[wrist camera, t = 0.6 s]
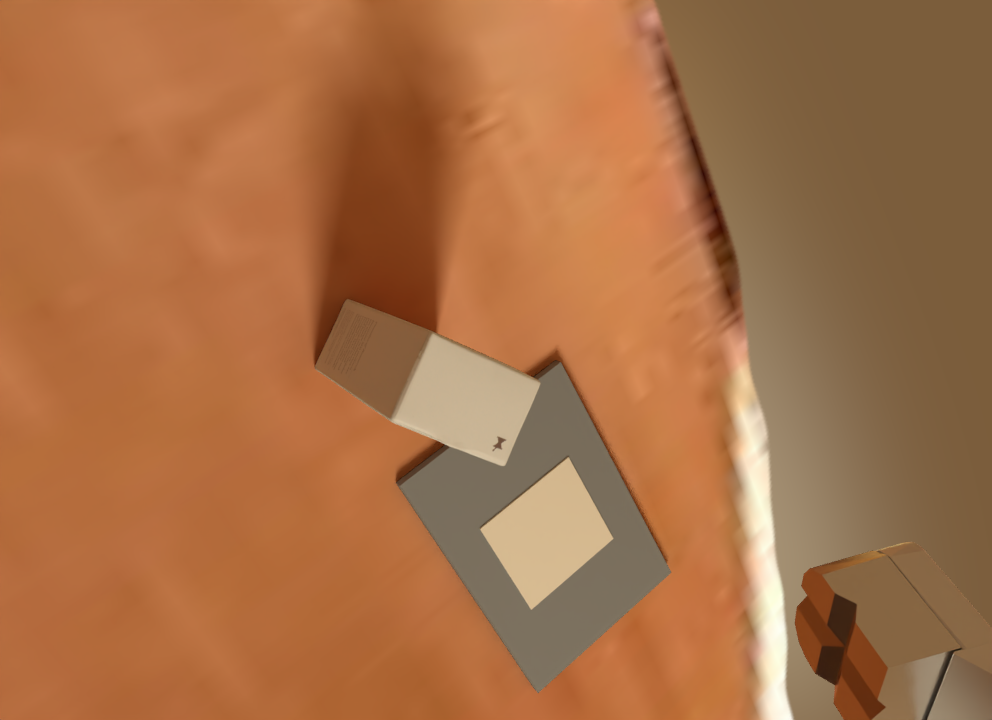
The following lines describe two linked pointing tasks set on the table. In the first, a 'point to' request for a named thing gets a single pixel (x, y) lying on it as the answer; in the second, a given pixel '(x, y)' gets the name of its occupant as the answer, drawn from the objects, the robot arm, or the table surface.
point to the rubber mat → (541, 532)
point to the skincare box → (428, 382)
